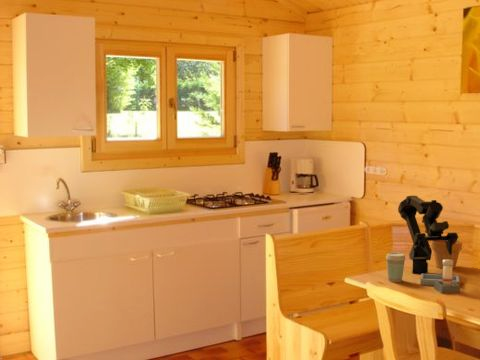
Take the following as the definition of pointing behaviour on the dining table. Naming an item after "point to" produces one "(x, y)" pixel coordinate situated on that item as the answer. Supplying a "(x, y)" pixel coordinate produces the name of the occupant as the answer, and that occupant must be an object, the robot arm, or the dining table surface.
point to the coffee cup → (395, 266)
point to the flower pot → (445, 252)
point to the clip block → (446, 287)
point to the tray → (435, 279)
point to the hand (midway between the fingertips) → (440, 255)
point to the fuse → (447, 272)
